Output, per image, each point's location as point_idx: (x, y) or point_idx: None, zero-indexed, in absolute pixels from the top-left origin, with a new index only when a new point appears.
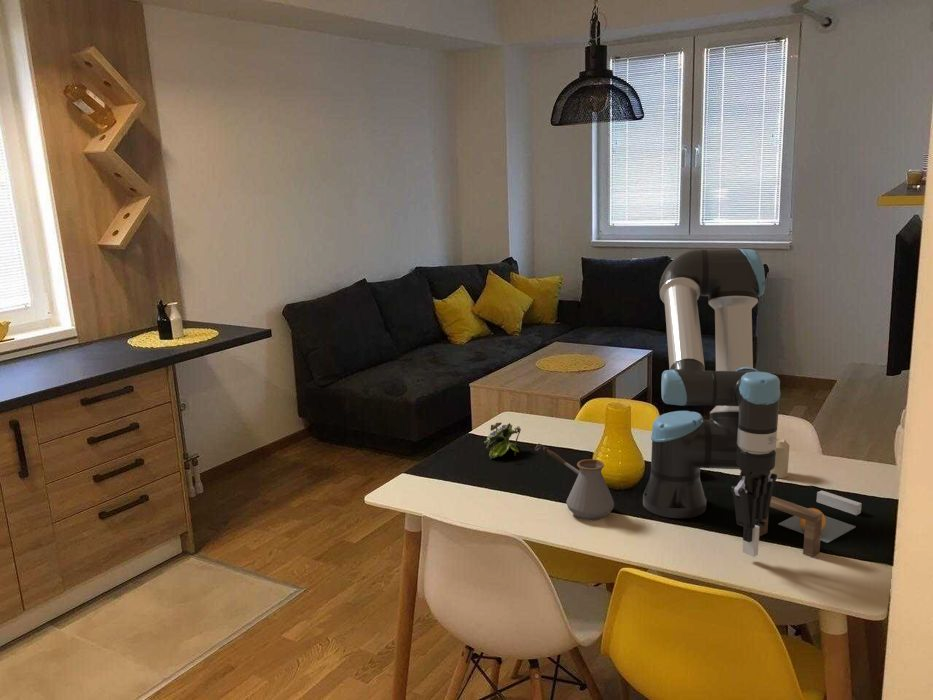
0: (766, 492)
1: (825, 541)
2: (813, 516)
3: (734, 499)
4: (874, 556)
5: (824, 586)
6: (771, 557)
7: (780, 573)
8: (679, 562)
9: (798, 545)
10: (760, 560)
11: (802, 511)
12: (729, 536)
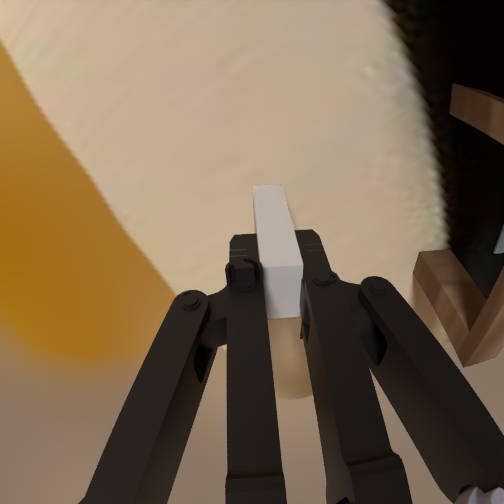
0: (426, 443)
1: (496, 249)
2: (468, 363)
3: (100, 467)
4: None
5: (298, 346)
6: (346, 214)
7: None
8: (50, 70)
9: (457, 219)
10: (301, 206)
11: (494, 331)
12: (381, 31)
